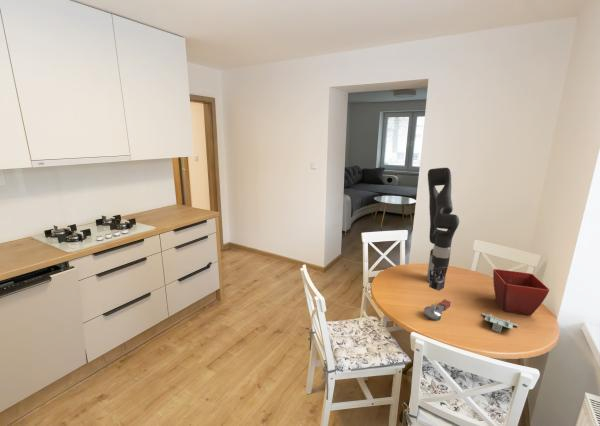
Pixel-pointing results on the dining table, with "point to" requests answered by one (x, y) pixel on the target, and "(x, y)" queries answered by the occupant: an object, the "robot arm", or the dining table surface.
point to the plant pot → (518, 291)
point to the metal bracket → (498, 323)
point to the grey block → (439, 283)
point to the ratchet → (436, 310)
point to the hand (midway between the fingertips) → (436, 286)
